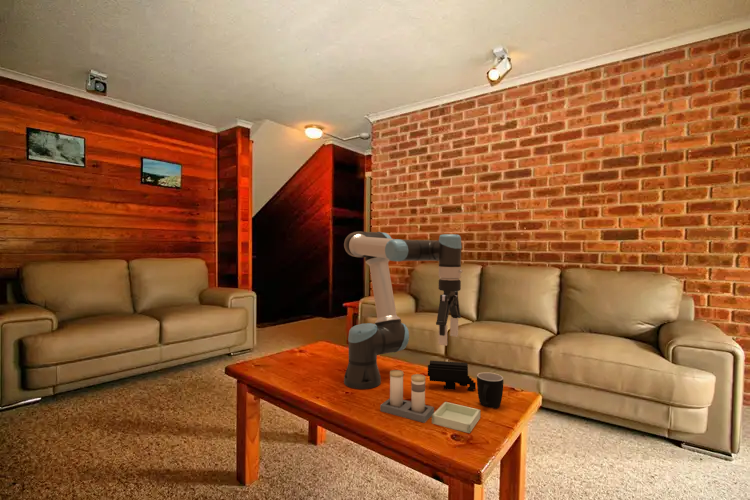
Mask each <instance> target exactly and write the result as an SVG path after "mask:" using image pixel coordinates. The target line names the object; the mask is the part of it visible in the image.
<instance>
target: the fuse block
mask: <svg viewBox="0 0 750 500" xmlns="http://www.w3.org/2000/svg"><path fill="white" fill-rule="evenodd" d="M389 379H390V380H389V398H388V399H387V400H385V401H383V402H382V403H381V404H380V406H379V407H380V412H382V413H385V414H386V413H387V414H390V415H393V416H397V417H401V418H404V419H408V420H412V421H415V422H420V423H423V424H426V423H427V421H428V420H429V419H431V418H432V415H433V413H434V412H435V406H431V405H426V404H425V412H424V413H423V414H421V413H417V412H413V411H411V400H406V399H404V371H403V370H401V369H392V370H390V371H389Z"/></svg>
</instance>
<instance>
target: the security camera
mask: <svg viewBox="0 0 750 500" xmlns="http://www.w3.org/2000/svg"><path fill="white" fill-rule="evenodd" d="M468 365H469V364H468V362H460V361H458V362H456V361H444V360H431V359H430V361H429V364H428V365H427V377H429V382H439V383H445V384H444V385H443V390H449V391H450V390H451V391H456V384H457V385H458V384H459V387H467V388H466V389H467V392H473V393H474V390H477V388H476V387H477V381H476V382H474V381H475V380H473V379H472V377H470V376H469V366H468Z"/></svg>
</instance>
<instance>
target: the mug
mask: <svg viewBox="0 0 750 500" xmlns="http://www.w3.org/2000/svg"><path fill="white" fill-rule="evenodd" d="M476 387H477V388H476V390H477V396H478V397H477V398H478V401H479V404H480V405H481V406H482V407H486V408H490V409H494V410H495V409H498V408H500V406H501V403H502V400H503V392H504V377H503V376H502V375H501V374H498V373H494V372H490V371H489V372H488V371H487V372H485V371H484V372H479V373H477V375H476Z"/></svg>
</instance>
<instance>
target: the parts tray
mask: <svg viewBox="0 0 750 500" xmlns="http://www.w3.org/2000/svg"><path fill="white" fill-rule="evenodd" d="M480 419H481V409H478V408H473V407H469V406H466V405H462V404H456V403H453V402H448V401H444V402H443V403H442V404H441V405H440V406H439V407H438V408H437V409H436V410H434V413H433V415H432V416H431V424H433V425H436V426H440V427H444V428H447V429H450V430H455V431H458V432H463V433H466V434H471V432H472V431H473V429H474V428H475V427H476V425H477V424H478V422H479V420H480Z"/></svg>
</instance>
